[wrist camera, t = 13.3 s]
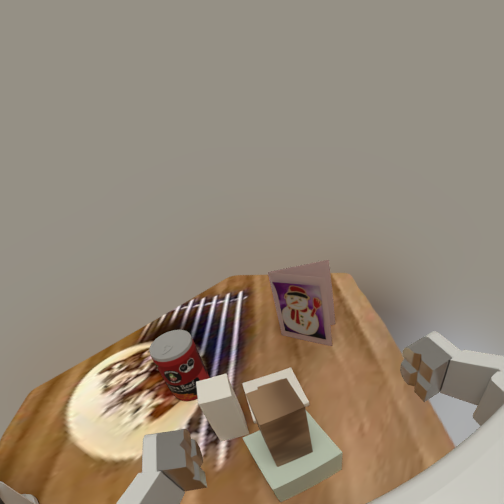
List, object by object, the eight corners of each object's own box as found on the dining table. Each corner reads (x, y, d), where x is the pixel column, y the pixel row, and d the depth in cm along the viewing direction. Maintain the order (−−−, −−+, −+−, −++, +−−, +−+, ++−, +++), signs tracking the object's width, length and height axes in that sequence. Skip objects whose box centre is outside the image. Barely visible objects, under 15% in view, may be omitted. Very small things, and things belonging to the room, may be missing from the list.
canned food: (168, 401, 46) (142, 359, 42) (179, 372, 54) (158, 330, 50) (206, 402, 45) (183, 358, 41) (214, 371, 52) (196, 327, 48)
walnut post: (277, 467, 26) (259, 425, 22) (264, 440, 30) (245, 393, 27) (312, 451, 27) (305, 406, 23) (297, 427, 31) (286, 377, 28)
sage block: (280, 502, 25) (272, 489, 23) (252, 456, 33) (242, 437, 31) (341, 470, 28) (342, 452, 26) (308, 429, 36) (304, 407, 34)
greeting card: (279, 337, 58) (265, 274, 53) (296, 317, 63) (285, 256, 58) (330, 348, 51) (322, 280, 46) (344, 325, 56) (338, 260, 51)
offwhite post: (221, 441, 37) (198, 404, 33) (217, 420, 41) (196, 381, 37) (249, 434, 37) (231, 395, 34) (243, 413, 41) (226, 373, 38)
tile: (254, 423, 39) (253, 419, 39) (243, 386, 47) (241, 382, 47) (309, 405, 40) (308, 401, 40) (291, 370, 48) (290, 366, 48)
